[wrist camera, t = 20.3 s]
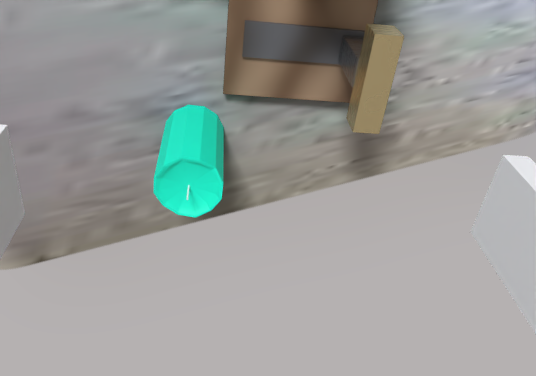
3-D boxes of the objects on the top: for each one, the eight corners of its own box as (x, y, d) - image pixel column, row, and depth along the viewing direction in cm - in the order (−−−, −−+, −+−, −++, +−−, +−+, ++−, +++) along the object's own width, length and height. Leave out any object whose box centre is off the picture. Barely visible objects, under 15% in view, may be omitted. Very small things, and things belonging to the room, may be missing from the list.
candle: (228, 152, 53) (229, 222, 43) (172, 160, 53) (159, 232, 43) (218, 100, 50) (217, 163, 40) (158, 108, 50) (141, 173, 40)
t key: (332, 89, 48) (351, 132, 41) (349, 3, 43) (373, 33, 36) (357, 91, 48) (380, 133, 41) (376, 5, 44) (405, 36, 37)
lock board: (223, 88, 49) (223, 95, 48) (230, -32, 43) (230, -28, 42) (352, 98, 50) (356, 104, 49) (377, -18, 44) (382, -13, 43)
